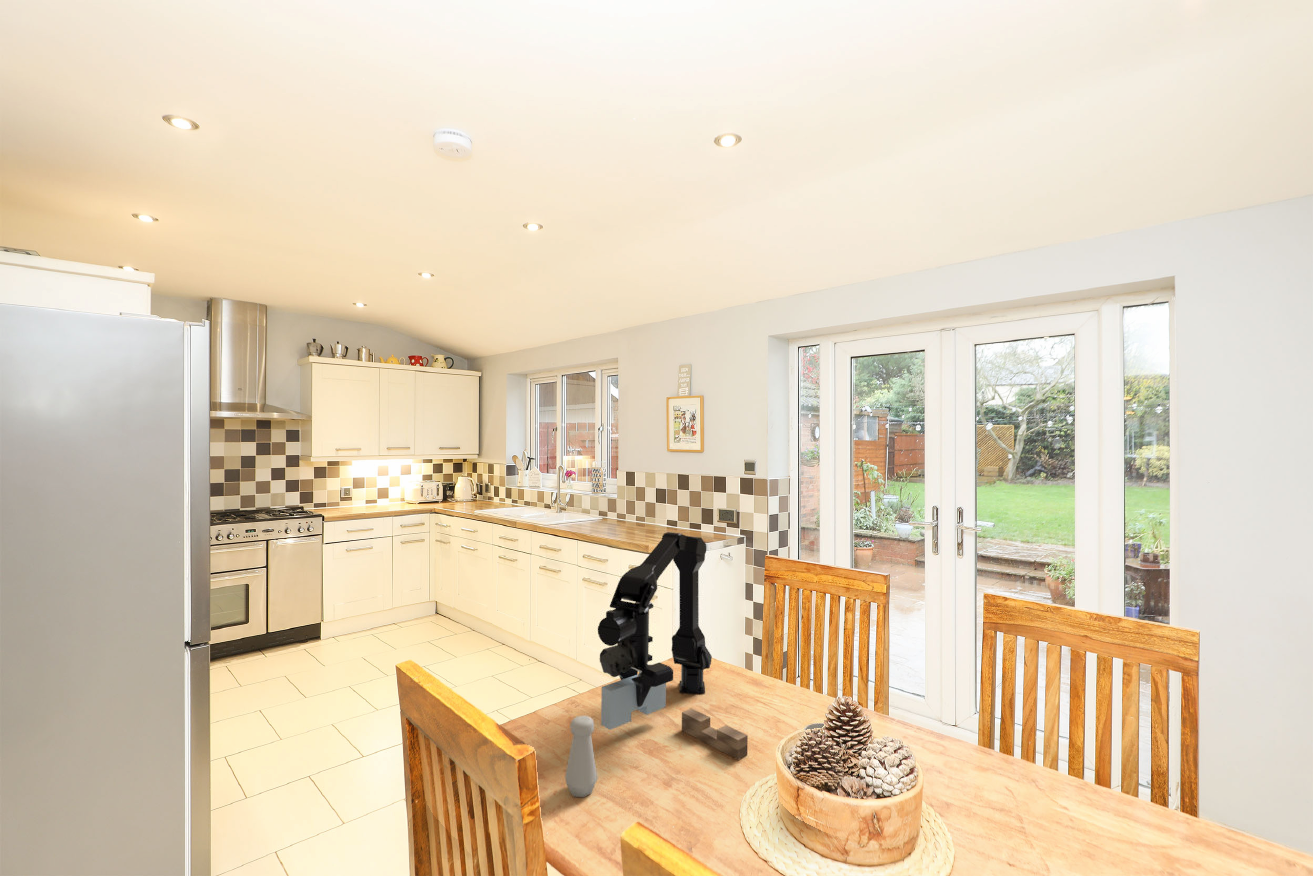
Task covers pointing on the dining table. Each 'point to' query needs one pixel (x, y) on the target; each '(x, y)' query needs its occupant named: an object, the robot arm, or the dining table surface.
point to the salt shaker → (581, 758)
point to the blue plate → (628, 702)
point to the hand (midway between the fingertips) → (634, 703)
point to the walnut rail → (715, 734)
